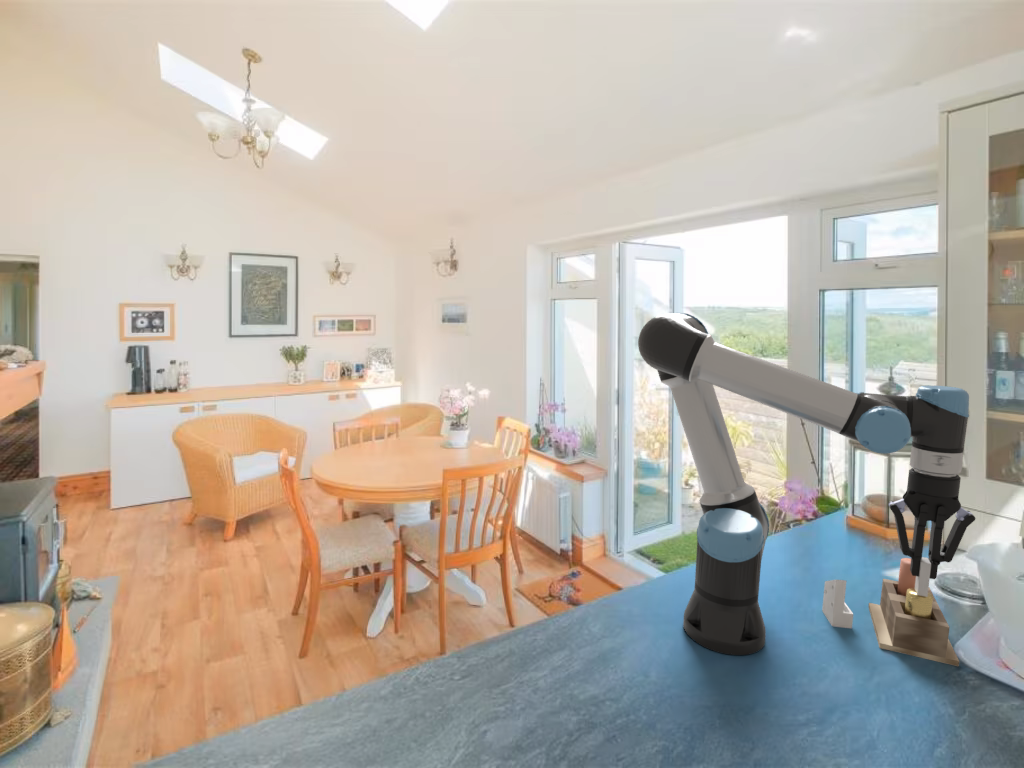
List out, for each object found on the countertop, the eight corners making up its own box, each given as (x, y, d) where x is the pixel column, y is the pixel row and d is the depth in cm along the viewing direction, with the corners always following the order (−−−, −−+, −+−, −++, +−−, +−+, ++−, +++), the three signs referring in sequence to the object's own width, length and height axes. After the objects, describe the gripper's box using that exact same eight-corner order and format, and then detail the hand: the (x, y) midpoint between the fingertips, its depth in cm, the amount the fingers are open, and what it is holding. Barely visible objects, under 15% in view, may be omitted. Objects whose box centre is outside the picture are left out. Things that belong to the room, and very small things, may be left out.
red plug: (898, 602, 111) (902, 564, 110) (894, 593, 114) (899, 556, 113) (922, 607, 109) (927, 568, 108) (918, 597, 113) (922, 560, 112)
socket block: (879, 647, 105) (883, 613, 104) (868, 607, 119) (871, 576, 118) (958, 666, 99) (963, 630, 98) (937, 621, 113) (941, 589, 112)
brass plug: (904, 635, 104) (909, 596, 103) (900, 625, 108) (905, 586, 107) (930, 641, 102) (935, 601, 101) (925, 630, 106) (930, 591, 105)
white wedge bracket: (841, 627, 107) (836, 579, 110) (823, 625, 116) (819, 581, 119) (862, 629, 106) (856, 581, 109) (842, 627, 115) (838, 583, 119)
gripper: (895, 471, 100) (882, 593, 103) (986, 482, 94) (970, 610, 98) (888, 461, 107) (876, 576, 110) (973, 470, 101) (958, 591, 104)
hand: (920, 592), depth 104 cm, fingers closed
